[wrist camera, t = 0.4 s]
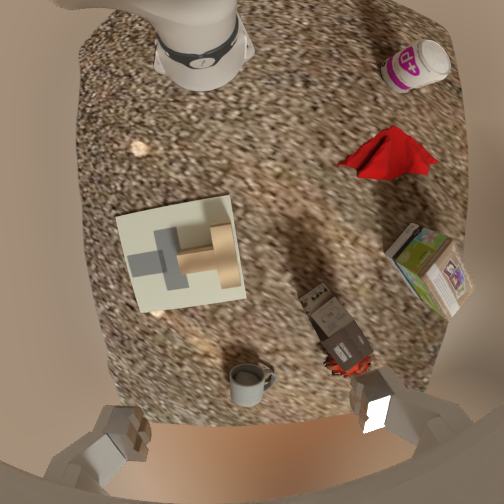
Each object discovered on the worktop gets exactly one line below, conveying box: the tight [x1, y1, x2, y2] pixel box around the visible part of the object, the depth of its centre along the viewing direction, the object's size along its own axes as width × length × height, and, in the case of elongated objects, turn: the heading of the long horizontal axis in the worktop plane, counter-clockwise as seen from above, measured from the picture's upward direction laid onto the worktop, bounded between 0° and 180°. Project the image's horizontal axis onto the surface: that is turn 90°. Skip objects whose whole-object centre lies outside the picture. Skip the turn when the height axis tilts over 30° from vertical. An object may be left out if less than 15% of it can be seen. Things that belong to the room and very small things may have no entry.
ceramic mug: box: [230, 363, 277, 407], centre depth 58 cm, size 11×8×8 cm
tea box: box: [384, 223, 476, 321], centre depth 50 cm, size 15×10×15 cm
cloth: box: [337, 126, 438, 180], centre depth 50 cm, size 26×14×2 cm, turn 86°
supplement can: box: [381, 39, 451, 93], centre depth 39 cm, size 8×8×15 cm
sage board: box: [116, 195, 246, 313], centre depth 53 cm, size 20×22×1 cm
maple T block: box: [177, 220, 241, 289], centre depth 50 cm, size 11×10×4 cm
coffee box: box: [299, 282, 373, 372], centre depth 50 cm, size 9×6×16 cm
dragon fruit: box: [323, 355, 371, 378], centre depth 59 cm, size 8×8×12 cm
